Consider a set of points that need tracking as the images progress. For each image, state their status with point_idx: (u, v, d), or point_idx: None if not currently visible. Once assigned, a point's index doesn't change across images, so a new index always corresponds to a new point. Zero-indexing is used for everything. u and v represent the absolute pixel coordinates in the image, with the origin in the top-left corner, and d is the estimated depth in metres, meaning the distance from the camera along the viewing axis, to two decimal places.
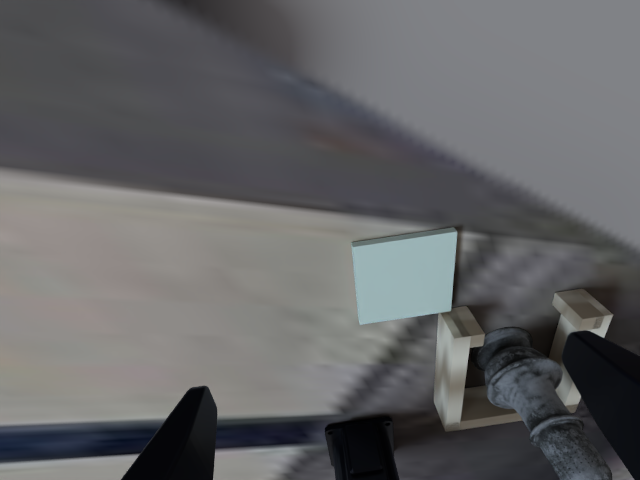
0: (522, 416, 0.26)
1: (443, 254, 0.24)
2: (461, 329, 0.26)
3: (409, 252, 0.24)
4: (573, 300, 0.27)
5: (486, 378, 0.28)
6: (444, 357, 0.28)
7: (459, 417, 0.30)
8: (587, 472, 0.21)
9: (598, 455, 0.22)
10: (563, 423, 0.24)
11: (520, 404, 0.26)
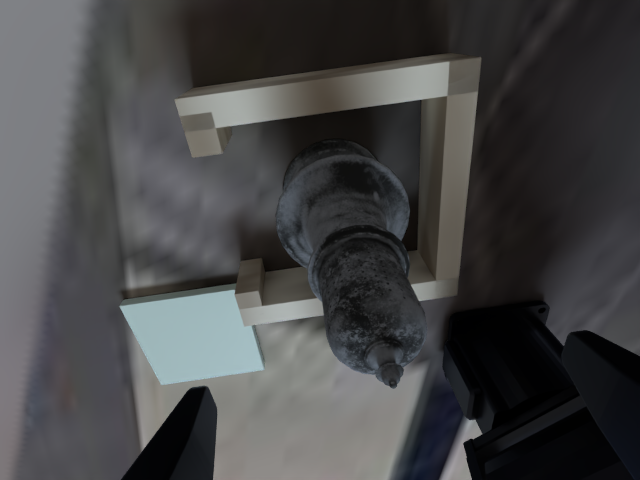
0: None
1: (153, 313, 0.21)
2: None
3: (157, 342, 0.22)
4: None
5: None
6: None
7: (423, 284, 0.18)
8: None
9: (332, 298, 0.10)
10: (318, 282, 0.12)
11: None
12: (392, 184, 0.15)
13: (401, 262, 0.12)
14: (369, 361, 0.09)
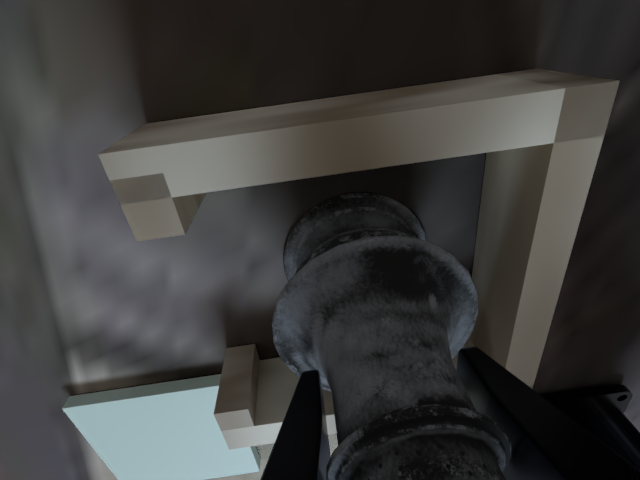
0: None
1: (109, 414, 0.16)
2: None
3: (118, 447, 0.17)
4: None
5: None
6: None
7: None
8: None
9: None
10: None
11: None
12: (456, 279, 0.09)
13: (499, 461, 0.07)
14: None
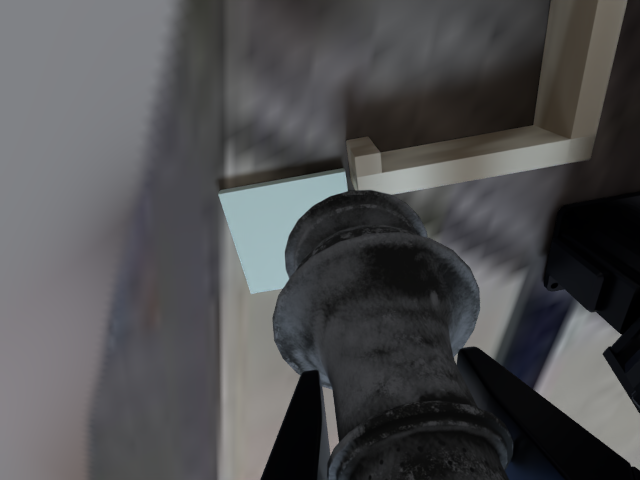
0: None
1: (252, 202, 0.20)
2: (355, 179, 0.18)
3: (252, 240, 0.21)
4: None
5: None
6: None
7: (556, 144, 0.17)
8: None
9: None
10: None
11: None
12: (457, 276, 0.09)
13: (501, 458, 0.06)
14: None
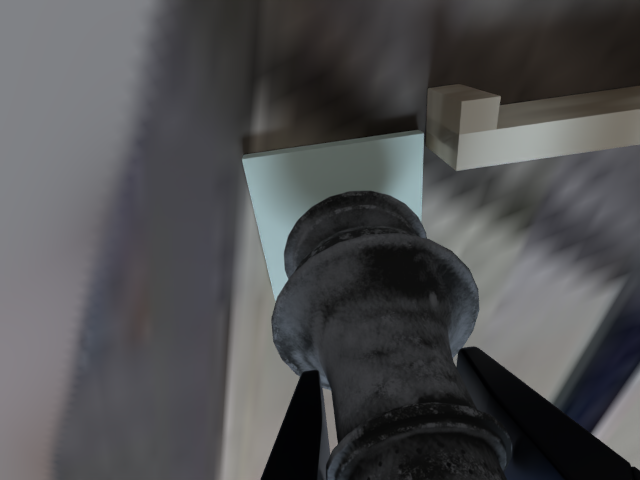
0: None
1: (289, 174, 0.14)
2: (449, 140, 0.12)
3: (284, 228, 0.15)
4: None
5: None
6: None
7: None
8: None
9: None
10: None
11: None
12: (457, 277, 0.09)
13: (500, 460, 0.06)
14: None
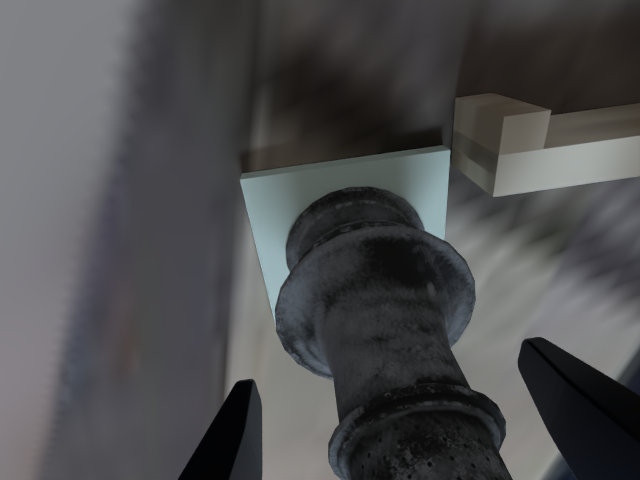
0: None
1: (294, 196, 0.12)
2: (483, 160, 0.10)
3: None
4: None
5: None
6: None
7: None
8: None
9: None
10: (348, 471, 0.07)
11: None
12: (454, 268, 0.10)
13: (494, 438, 0.07)
14: None
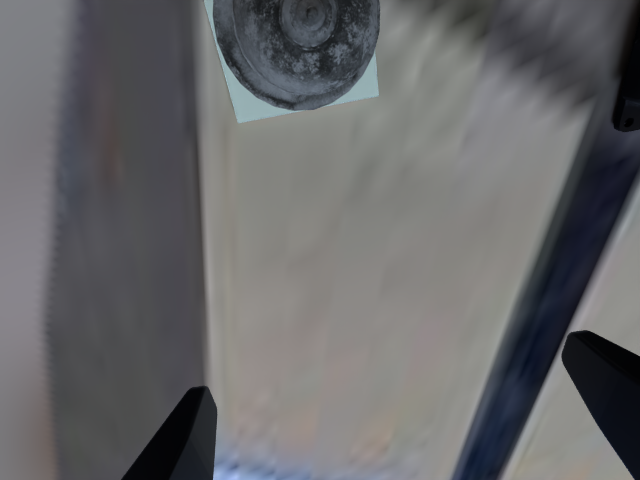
0: None
1: None
2: None
3: None
4: None
5: None
6: None
7: None
8: (252, 54, 0.07)
9: None
10: None
11: None
12: None
13: None
14: (285, 21, 0.06)
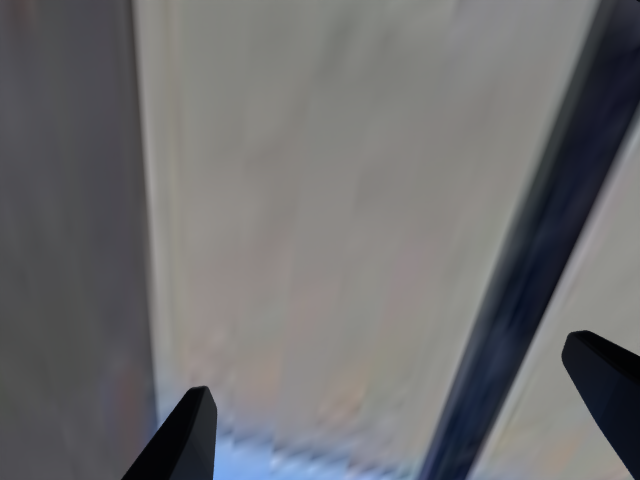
0: None
1: None
2: None
3: None
4: None
5: None
6: None
7: None
8: None
9: None
10: None
11: None
12: None
13: None
14: None
